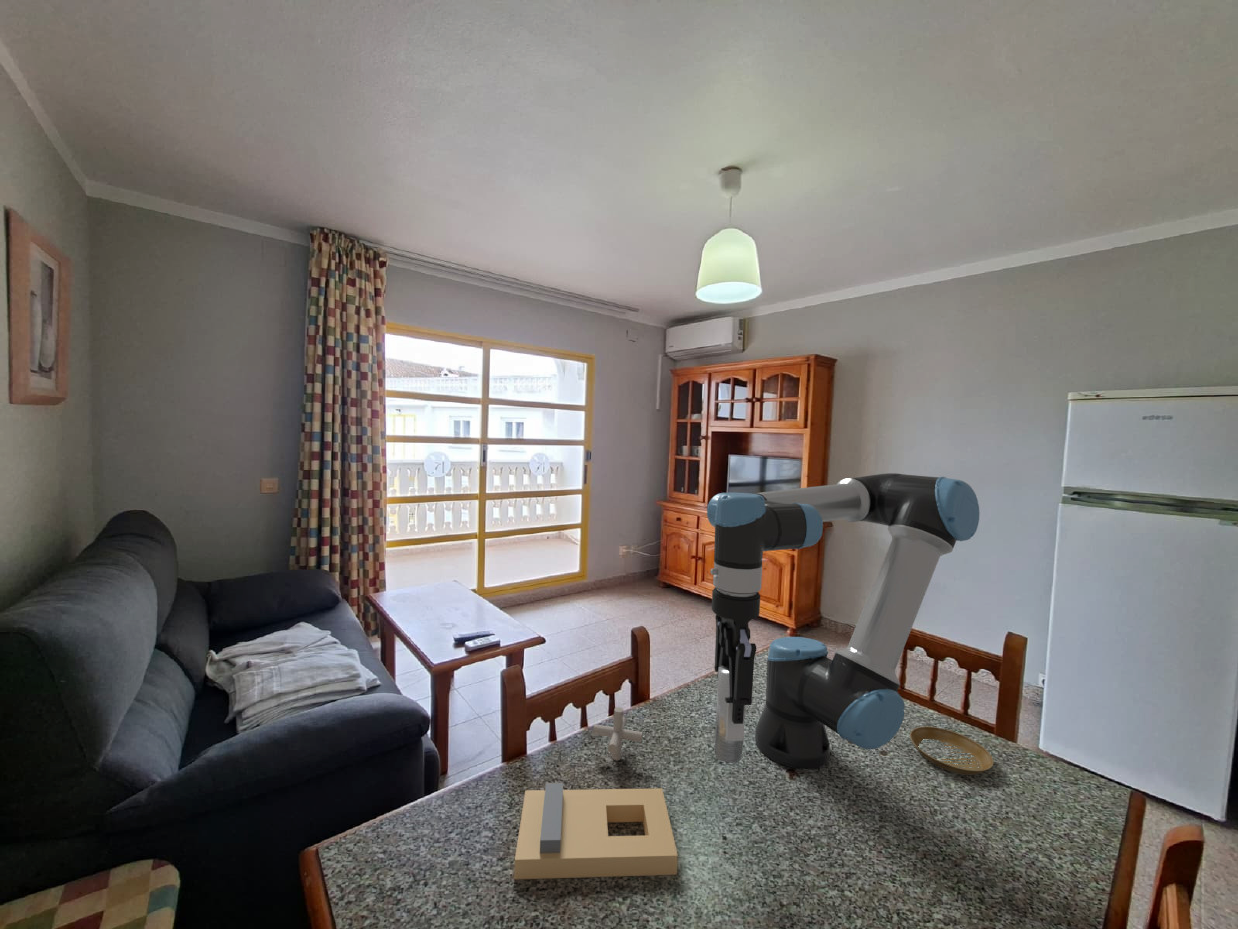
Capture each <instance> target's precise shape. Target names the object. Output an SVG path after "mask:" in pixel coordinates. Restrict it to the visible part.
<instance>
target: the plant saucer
mask: <svg viewBox="0 0 1238 929" xmlns="http://www.w3.org/2000/svg"><path fill="white" fill-rule="evenodd" d="M909 739H910V741H911V742H912V744H913V745H914V747H915V748H916V750H917V751H918V752H919V754H921V755H922V756H923V758H924V759H925V760H927V761H928V760H929V761H928V762H930V763H931V764H933V765H934V764H935V765H934V766H936V767H938V768H940V767H941V768H940V769H942V768H943V769H942V770H944V769H945V770H944V771H947V770H948V771H947V772H951V773H952V774H953V773H954V774H957V773H958V774H957V775H962V774H963V776H974V775H978V774H982V773H984V772H987V771H988V770H990V769H991V768H992V767H993V766H994V763H995V762H994V758H993V756H992V754H990V751H988V750H987V749H986V748H985V747H984V746H982V745H981V743H980V744H979V743H978V742H977V741H975V740H973V739H972V738H969V737H968V736H965V735H964V734H961V733H958V732H956V731H952V730H949V729H946V728H940V727H934V726H926V725H925V726H919V727H915V728H913V729H912V730H910V733H909ZM923 739H934V740H939V741H941V743H948V745H946V744H945V745H944V746H951V749H954V748H955V747H957V748H955V749H963V750H961V753H971V754H969V755H967V756H971V755H972V756H974V757H972V758H970V759H967V758H965V759H964V758H961V759H959V758H958V760H968V761H964V762H963V761H961V762H958V761H955V762H953V761H951V762H950V761H948V762H947V761H943V762H942V761H939V760H937V759H935V758H933V757H931V756H929V755H928V754H926V753H925V752H923V751H922V750H921V749H919V747H918V746H919V743H921V741H922V740H923ZM941 746H942V745H941ZM952 746H955V747H952ZM944 749H945V748H944ZM948 749H950V748H948ZM963 751H965V752H963ZM951 753H953V752H951ZM955 753H957V752H956V751H955ZM958 753H960V752H958ZM951 756H952V755H951ZM955 756H956V755H955ZM961 756H964V755H961ZM974 758H975V759H974ZM949 759H950V758H948V759H941V760H949ZM950 760H957V759H954V758H952V759H950ZM969 760H972V761H970V762H969ZM974 760H975V761H974ZM947 763H950V764H947ZM952 763H961V764H962V763H966V764H962V765H961V764H958V765H957V764H956V765H955V764H952ZM968 763H972V764H968ZM977 763H979V764H977ZM967 764H968V765H967ZM959 767H961V768H959ZM963 767H965V768H963ZM969 767H972V768H969ZM977 767H979V768H977Z"/></svg>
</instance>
